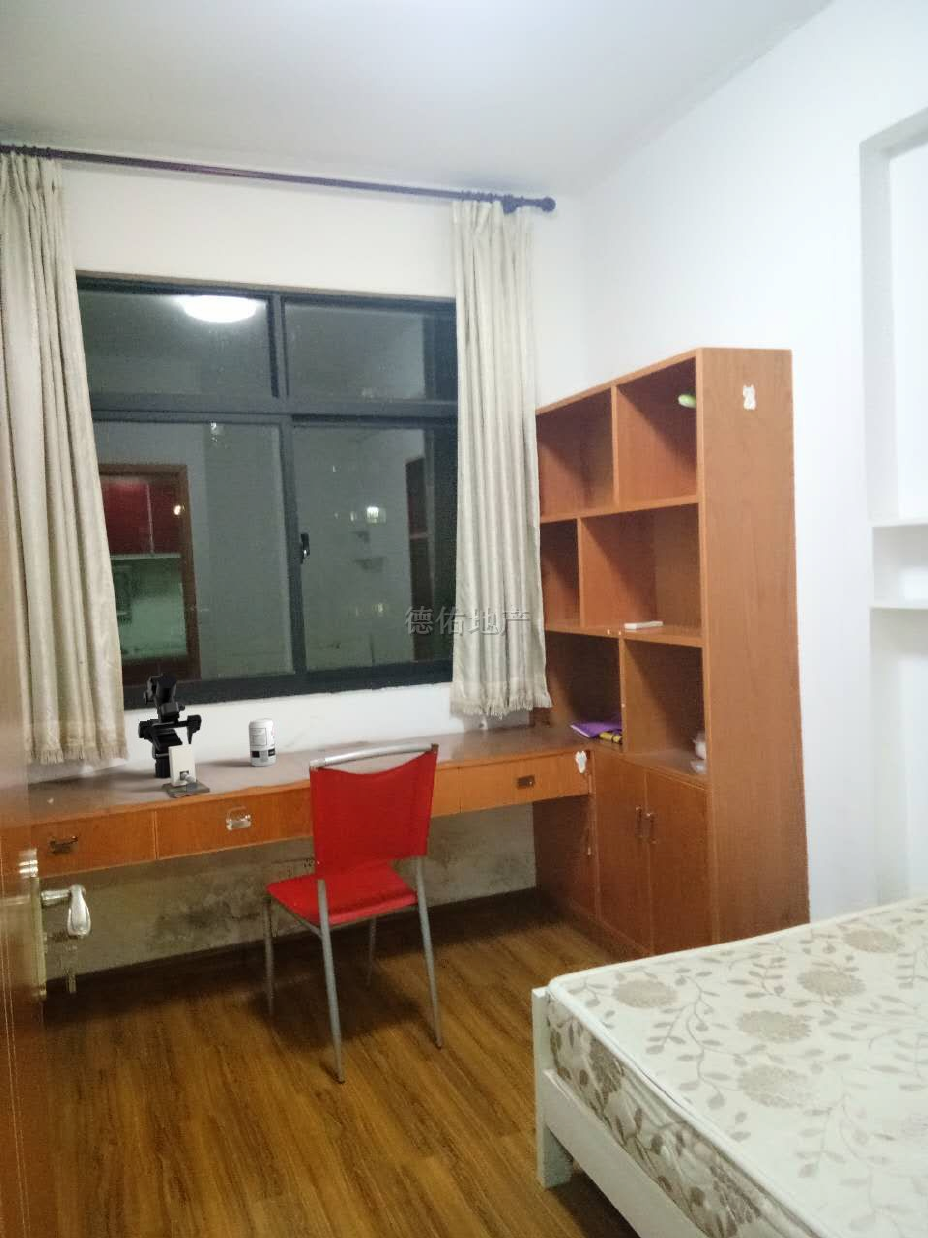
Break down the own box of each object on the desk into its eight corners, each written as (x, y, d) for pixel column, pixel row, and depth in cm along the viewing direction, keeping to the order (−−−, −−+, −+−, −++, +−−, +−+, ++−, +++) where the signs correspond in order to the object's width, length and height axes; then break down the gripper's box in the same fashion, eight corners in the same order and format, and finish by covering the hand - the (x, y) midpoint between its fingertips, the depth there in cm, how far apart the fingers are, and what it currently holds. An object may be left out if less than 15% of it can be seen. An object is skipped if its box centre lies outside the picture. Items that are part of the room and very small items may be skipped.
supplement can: (246, 765, 295) (243, 721, 294) (269, 760, 301) (266, 717, 300) (257, 768, 289) (254, 723, 288) (280, 763, 294) (277, 719, 294)
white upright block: (171, 784, 266) (168, 747, 265) (192, 780, 269) (190, 744, 269) (174, 786, 263) (171, 749, 262) (195, 783, 266) (193, 745, 265)
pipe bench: (162, 787, 269) (161, 770, 268) (195, 781, 274) (194, 765, 273) (175, 798, 254) (173, 780, 254) (209, 792, 259) (208, 774, 259)
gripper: (136, 695, 270) (145, 736, 261) (198, 689, 279) (208, 728, 270) (134, 717, 277) (142, 758, 268) (194, 710, 286) (204, 749, 277)
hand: (175, 747), depth 271 cm, fingers open, 9 cm apart
